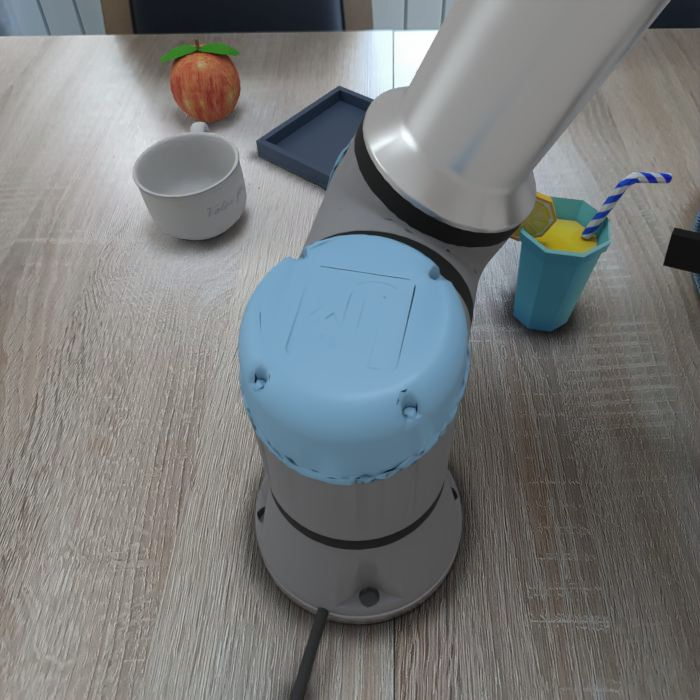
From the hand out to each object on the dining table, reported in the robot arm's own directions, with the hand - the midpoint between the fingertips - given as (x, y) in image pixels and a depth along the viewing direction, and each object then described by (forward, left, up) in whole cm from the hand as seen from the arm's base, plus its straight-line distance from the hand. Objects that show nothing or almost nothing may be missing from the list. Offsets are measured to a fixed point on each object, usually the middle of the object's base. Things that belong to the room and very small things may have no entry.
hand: (693, 187), depth 47 cm
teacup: (-11, +44, -17) cm, 48 cm away
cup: (-1, +7, -17) cm, 19 cm away
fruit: (+3, +58, -17) cm, 61 cm away
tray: (+8, +38, -17) cm, 42 cm away
